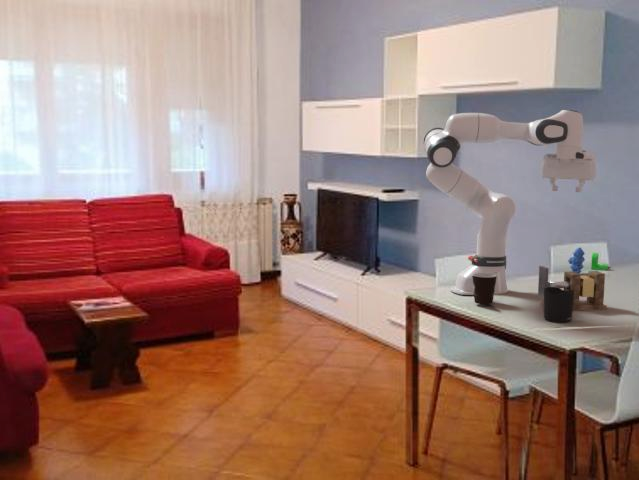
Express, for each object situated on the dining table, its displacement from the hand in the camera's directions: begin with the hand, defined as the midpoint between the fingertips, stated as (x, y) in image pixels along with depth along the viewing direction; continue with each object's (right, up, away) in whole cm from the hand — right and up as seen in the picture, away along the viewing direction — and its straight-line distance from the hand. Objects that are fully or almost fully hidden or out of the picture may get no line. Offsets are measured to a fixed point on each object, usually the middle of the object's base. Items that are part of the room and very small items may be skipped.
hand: (566, 191), depth 268 cm
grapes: (+20, -34, +48) cm, 62 cm away
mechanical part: (+37, -32, +62) cm, 79 cm away
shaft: (-5, -38, -16) cm, 41 cm away
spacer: (+1, -34, -16) cm, 38 cm away
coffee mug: (-32, -41, -7) cm, 52 cm away
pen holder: (-14, -45, -33) cm, 58 cm away
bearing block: (-3, -42, -15) cm, 44 cm away
